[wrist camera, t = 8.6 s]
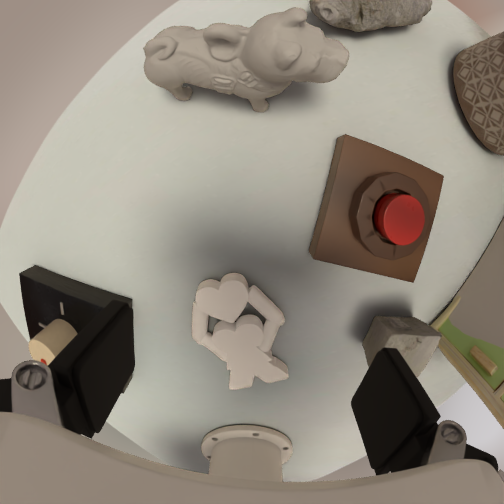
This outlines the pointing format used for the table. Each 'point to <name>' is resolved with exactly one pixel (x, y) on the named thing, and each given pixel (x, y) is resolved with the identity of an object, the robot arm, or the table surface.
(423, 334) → the mineral specimen
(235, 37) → the dog figurine
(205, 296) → the white abstract figurine
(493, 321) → the grey rectangular panel
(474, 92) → the planter
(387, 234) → the button
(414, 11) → the seashell
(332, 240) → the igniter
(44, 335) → the knob
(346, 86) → the table surface
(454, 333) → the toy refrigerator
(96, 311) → the panel
